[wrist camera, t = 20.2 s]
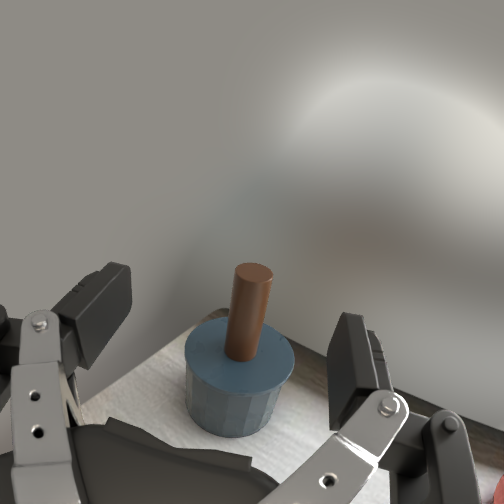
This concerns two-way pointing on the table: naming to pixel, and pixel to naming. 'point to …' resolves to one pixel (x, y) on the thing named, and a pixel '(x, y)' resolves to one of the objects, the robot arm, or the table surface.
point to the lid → (241, 342)
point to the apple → (499, 492)
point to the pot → (227, 409)
